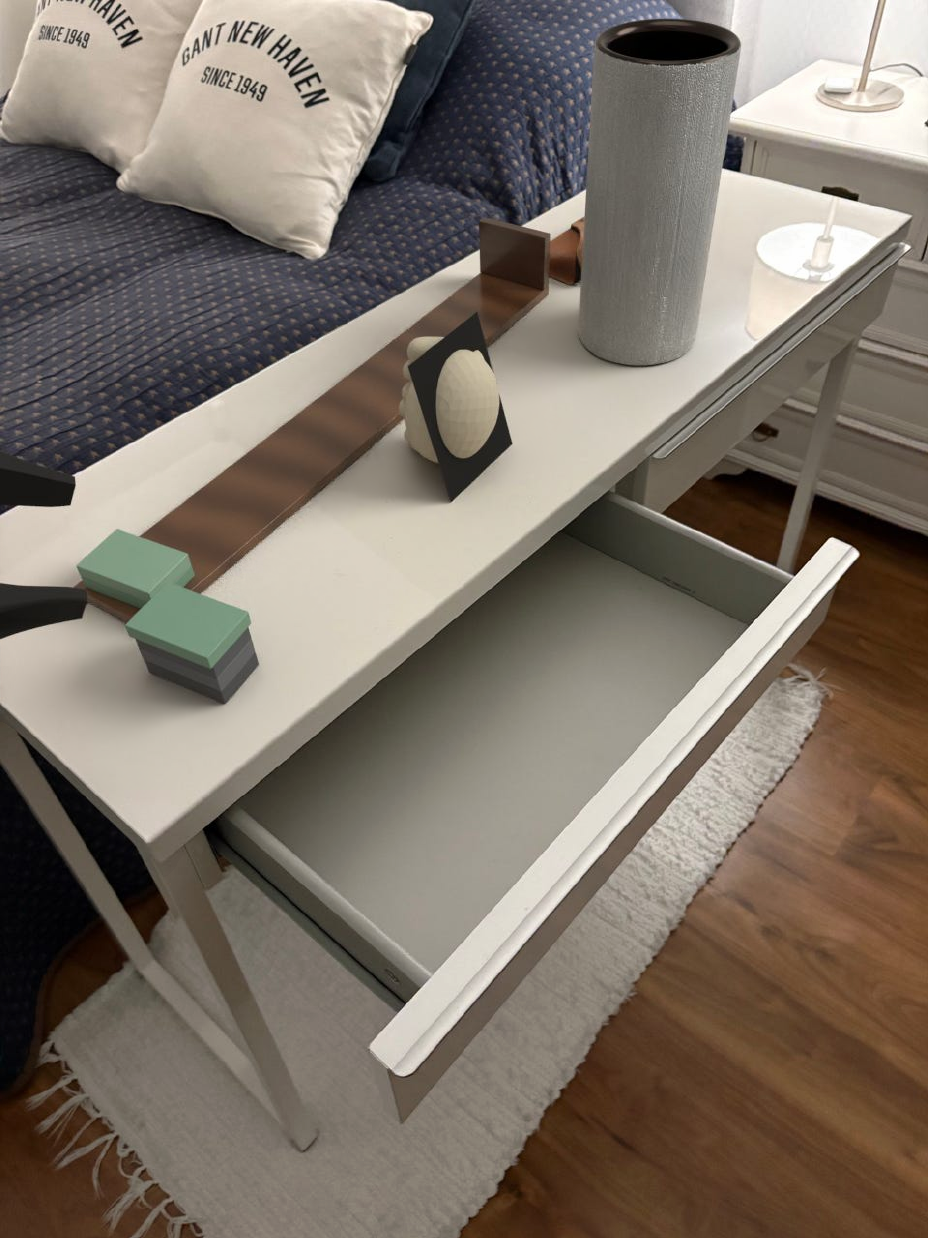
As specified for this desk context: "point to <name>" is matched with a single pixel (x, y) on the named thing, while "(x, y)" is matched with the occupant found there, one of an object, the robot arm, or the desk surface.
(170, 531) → the book ledge
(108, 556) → the green flat block
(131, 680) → the desk surface
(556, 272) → the sunglasses case
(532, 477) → the desk surface
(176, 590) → the sage book
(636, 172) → the planter
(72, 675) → the desk surface
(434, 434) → the decorative object
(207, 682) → the grey books
